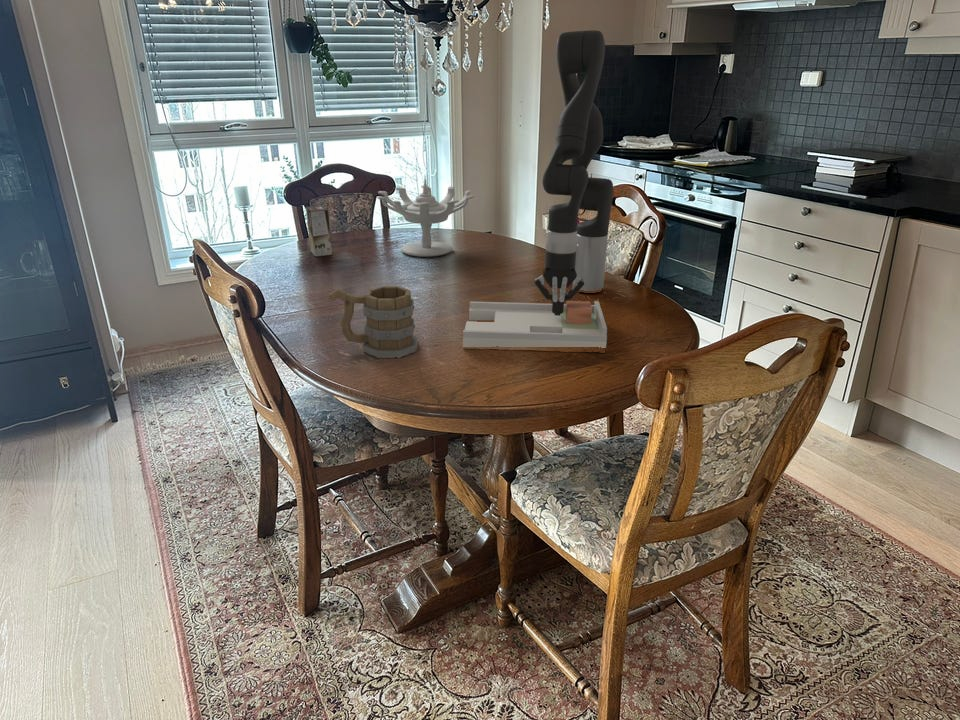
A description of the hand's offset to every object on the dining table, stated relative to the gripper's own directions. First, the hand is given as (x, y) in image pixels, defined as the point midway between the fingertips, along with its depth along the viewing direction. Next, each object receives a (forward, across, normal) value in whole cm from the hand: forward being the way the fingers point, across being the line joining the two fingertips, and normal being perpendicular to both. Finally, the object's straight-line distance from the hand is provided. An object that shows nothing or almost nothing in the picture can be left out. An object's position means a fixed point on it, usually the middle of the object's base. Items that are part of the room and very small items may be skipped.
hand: (557, 314), depth 168 cm
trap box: (+4, +6, +4) cm, 8 cm away
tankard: (+4, +44, +16) cm, 47 cm away
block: (+1, -5, +1) cm, 5 cm away
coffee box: (+4, +82, -69) cm, 107 cm away
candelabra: (+4, +44, -74) cm, 86 cm away
